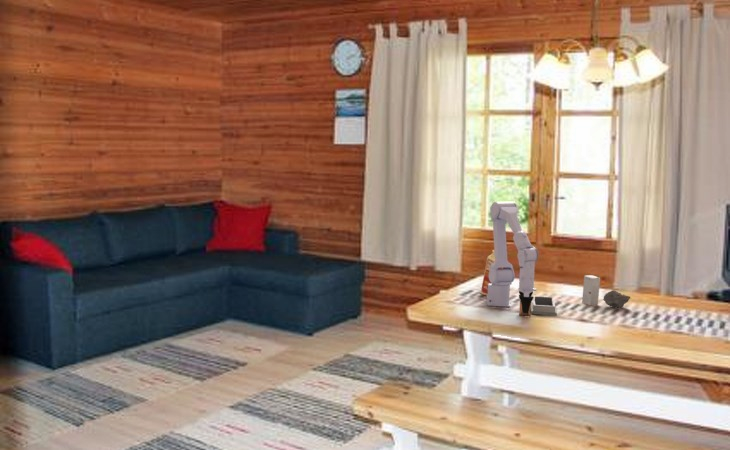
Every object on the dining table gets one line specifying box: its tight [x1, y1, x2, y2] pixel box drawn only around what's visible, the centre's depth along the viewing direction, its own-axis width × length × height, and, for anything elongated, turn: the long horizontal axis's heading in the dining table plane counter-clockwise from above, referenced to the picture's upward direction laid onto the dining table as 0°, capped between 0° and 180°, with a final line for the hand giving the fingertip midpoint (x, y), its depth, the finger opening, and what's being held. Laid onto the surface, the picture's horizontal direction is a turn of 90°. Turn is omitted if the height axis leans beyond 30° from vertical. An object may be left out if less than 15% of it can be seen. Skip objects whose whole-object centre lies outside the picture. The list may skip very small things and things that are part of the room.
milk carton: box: [480, 249, 505, 297], centre depth 319 cm, size 9×9×20 cm
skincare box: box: [581, 274, 601, 306], centre depth 304 cm, size 6×4×12 cm
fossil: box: [603, 289, 631, 309], centre depth 297 cm, size 11×9×8 cm
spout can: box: [518, 300, 533, 317], centre depth 283 cm, size 5×5×6 cm
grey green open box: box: [531, 295, 558, 316], centre depth 290 cm, size 10×11×5 cm
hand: (525, 310), depth 283 cm, fingers open, 7 cm apart
